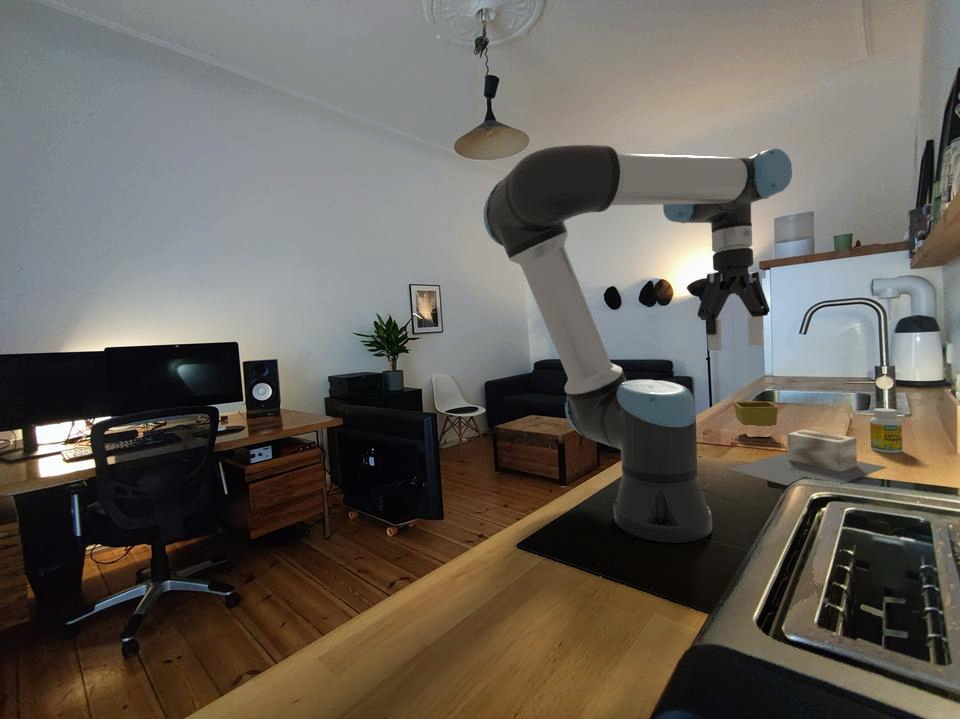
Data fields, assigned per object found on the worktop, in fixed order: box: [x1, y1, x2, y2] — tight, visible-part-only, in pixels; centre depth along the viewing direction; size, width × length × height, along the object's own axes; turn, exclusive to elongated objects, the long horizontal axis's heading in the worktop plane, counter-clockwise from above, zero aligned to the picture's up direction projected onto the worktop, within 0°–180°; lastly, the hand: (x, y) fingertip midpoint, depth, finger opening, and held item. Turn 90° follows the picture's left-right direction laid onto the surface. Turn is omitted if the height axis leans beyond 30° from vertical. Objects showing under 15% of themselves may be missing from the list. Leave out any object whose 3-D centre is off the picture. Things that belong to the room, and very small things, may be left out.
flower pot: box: [733, 401, 779, 426], centre depth 117 cm, size 9×9×9 cm
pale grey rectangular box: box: [786, 429, 858, 472], centre depth 92 cm, size 10×6×6 cm, turn 24°
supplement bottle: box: [869, 407, 903, 454], centre depth 98 cm, size 5×5×10 cm
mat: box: [727, 451, 887, 487], centre depth 89 cm, size 25×17×1 cm
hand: (736, 347), depth 92 cm, fingers open, 13 cm apart
